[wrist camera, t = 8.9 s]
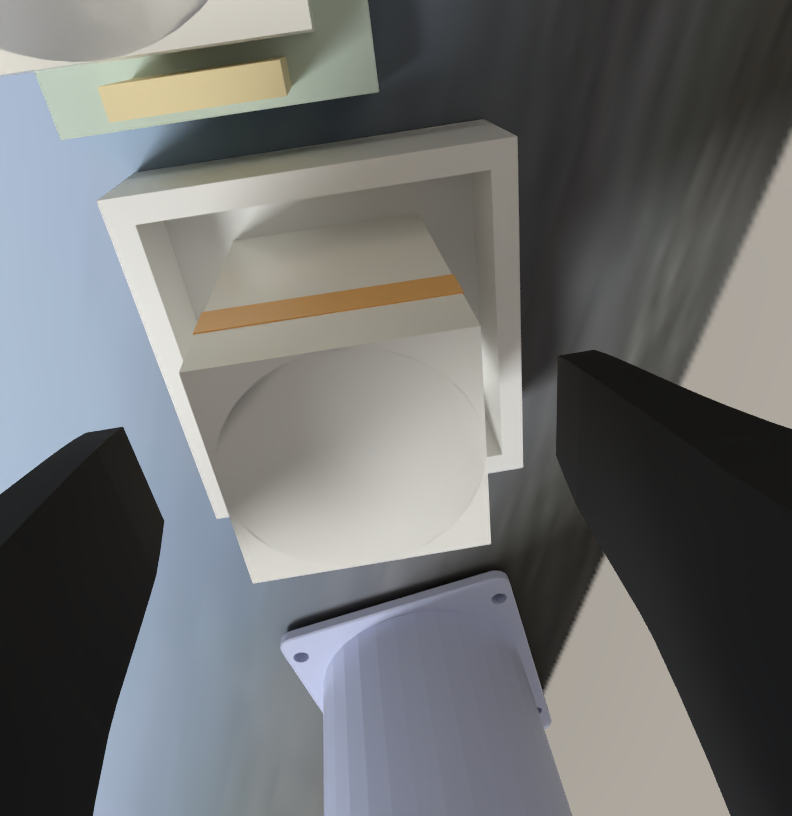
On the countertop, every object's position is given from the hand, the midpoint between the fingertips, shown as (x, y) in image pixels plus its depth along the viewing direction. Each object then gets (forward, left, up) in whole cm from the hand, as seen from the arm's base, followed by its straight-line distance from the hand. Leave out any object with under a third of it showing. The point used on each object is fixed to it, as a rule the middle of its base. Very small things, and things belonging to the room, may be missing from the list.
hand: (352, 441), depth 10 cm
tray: (0, 0, -6) cm, 6 cm away
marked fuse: (0, 0, -5) cm, 5 cm away
